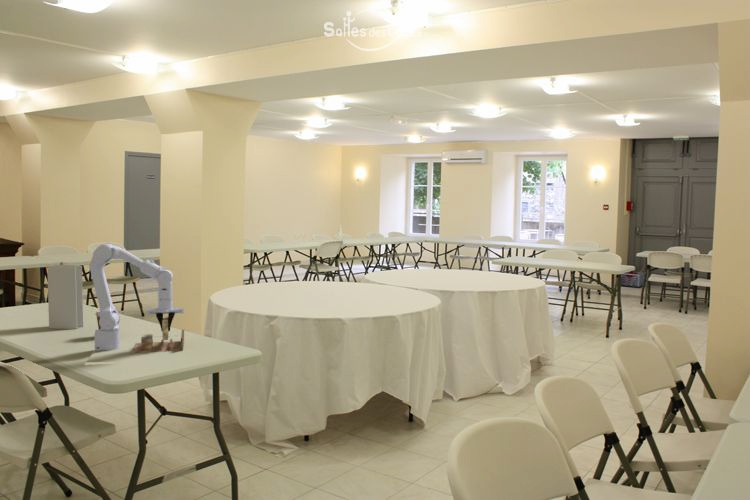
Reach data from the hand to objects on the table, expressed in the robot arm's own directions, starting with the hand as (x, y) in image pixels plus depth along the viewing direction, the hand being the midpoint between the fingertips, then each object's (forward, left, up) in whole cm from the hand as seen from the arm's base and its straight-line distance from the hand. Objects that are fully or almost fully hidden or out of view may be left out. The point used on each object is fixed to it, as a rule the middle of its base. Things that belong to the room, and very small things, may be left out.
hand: (165, 330), depth 263 cm
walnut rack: (-3, 0, -8) cm, 8 cm away
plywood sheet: (0, 0, -3) cm, 3 cm away
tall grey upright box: (-49, +56, -8) cm, 75 cm away
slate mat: (-2, +17, -8) cm, 19 cm away
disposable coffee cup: (-27, +30, -8) cm, 41 cm away
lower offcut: (-7, 0, -7) cm, 10 cm away
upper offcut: (-7, 0, -4) cm, 9 cm away
